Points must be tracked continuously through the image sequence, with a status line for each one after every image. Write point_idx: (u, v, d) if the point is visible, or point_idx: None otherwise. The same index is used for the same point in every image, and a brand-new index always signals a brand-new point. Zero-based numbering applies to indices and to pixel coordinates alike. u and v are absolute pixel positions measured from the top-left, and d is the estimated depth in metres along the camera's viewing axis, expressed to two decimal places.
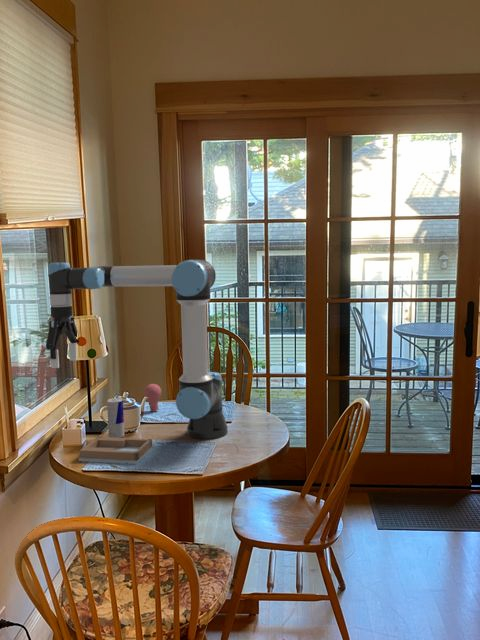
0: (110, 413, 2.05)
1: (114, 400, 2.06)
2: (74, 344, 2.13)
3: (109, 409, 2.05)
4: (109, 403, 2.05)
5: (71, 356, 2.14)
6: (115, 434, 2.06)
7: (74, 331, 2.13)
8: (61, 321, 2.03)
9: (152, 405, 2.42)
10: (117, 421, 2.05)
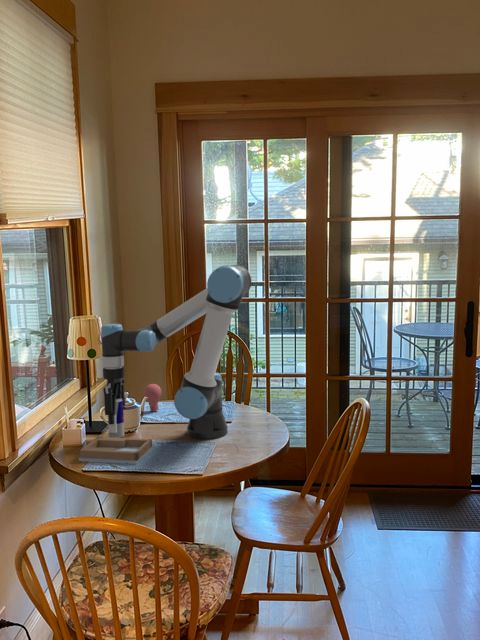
0: None
1: None
2: None
3: None
4: None
5: None
6: (115, 434, 2.06)
7: (122, 395, 2.12)
8: (113, 382, 2.03)
9: (152, 405, 2.42)
10: (117, 421, 2.05)
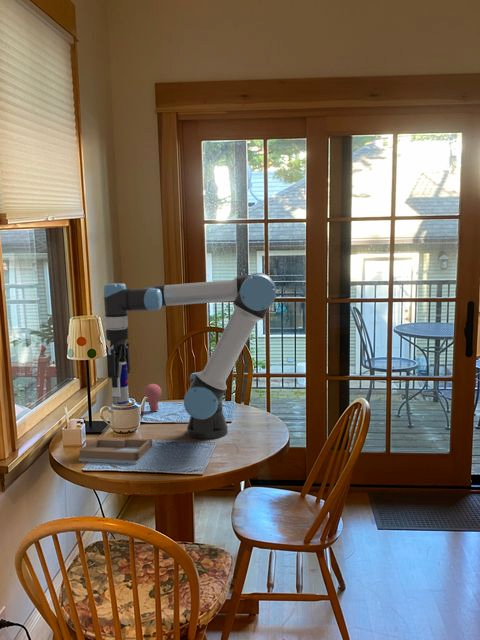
0: None
1: None
2: None
3: None
4: None
5: None
6: (119, 398, 1.98)
7: (127, 359, 2.04)
8: (117, 344, 1.95)
9: (152, 405, 2.42)
10: (121, 384, 1.97)
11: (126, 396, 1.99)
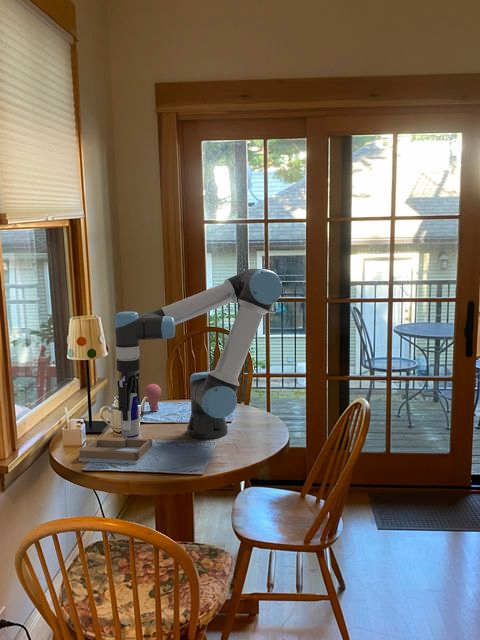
0: None
1: None
2: None
3: None
4: None
5: None
6: (129, 431, 1.89)
7: (136, 389, 1.95)
8: (128, 375, 1.87)
9: (152, 405, 2.42)
10: (131, 417, 1.89)
11: (136, 429, 1.90)
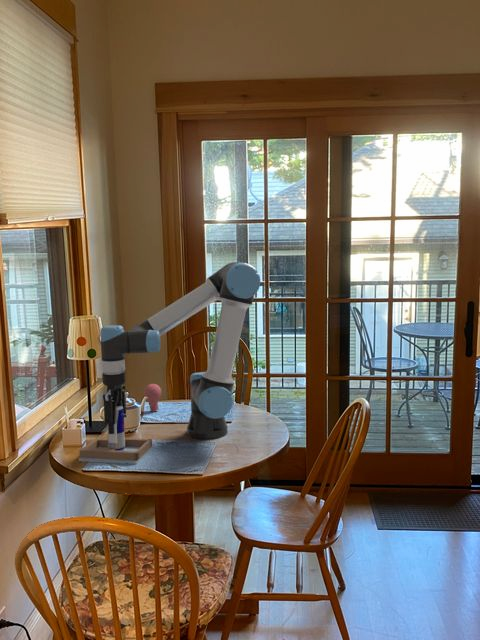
0: None
1: None
2: None
3: None
4: None
5: None
6: (115, 444, 1.91)
7: (123, 402, 1.97)
8: (114, 389, 1.88)
9: (152, 405, 2.42)
10: (117, 430, 1.90)
11: (123, 442, 1.92)
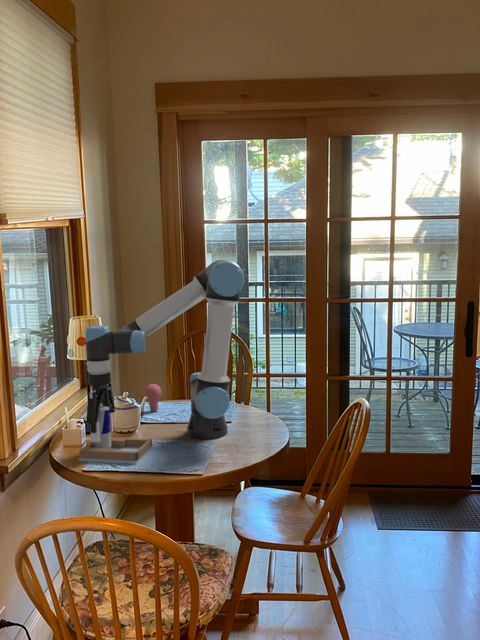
0: None
1: (100, 408, 1.92)
2: (110, 414, 1.98)
3: None
4: None
5: None
6: (101, 445, 1.92)
7: (110, 399, 1.99)
8: (99, 389, 1.89)
9: (152, 405, 2.42)
10: (103, 431, 1.91)
11: (109, 442, 1.93)
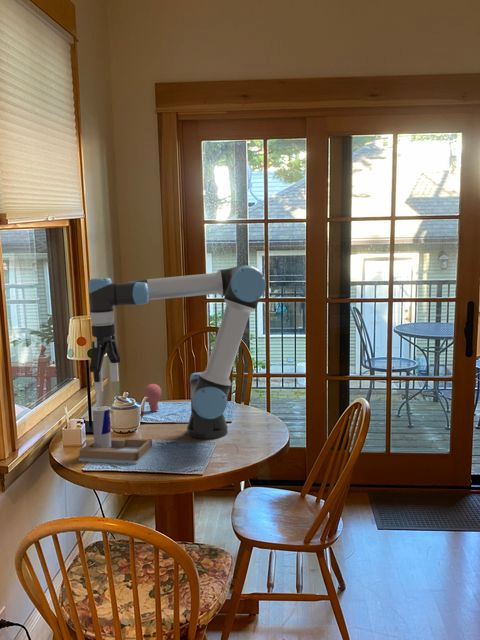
0: (95, 423, 1.91)
1: (100, 409, 1.92)
2: (115, 364, 2.00)
3: (95, 419, 1.91)
4: (94, 412, 1.91)
5: (112, 377, 2.00)
6: (101, 445, 1.92)
7: (115, 350, 2.00)
8: (104, 341, 1.90)
9: (152, 405, 2.42)
10: (103, 431, 1.91)
11: (109, 443, 1.93)
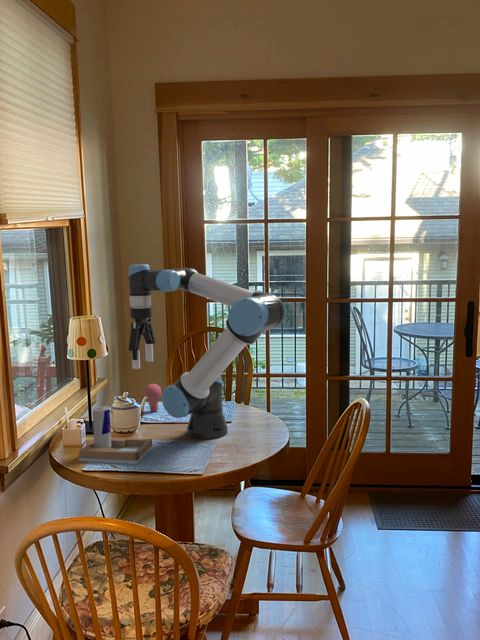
0: (95, 423, 1.91)
1: (100, 409, 1.92)
2: (150, 345, 2.15)
3: (95, 419, 1.91)
4: (94, 412, 1.91)
5: (147, 357, 2.16)
6: (101, 445, 1.92)
7: (150, 332, 2.15)
8: (141, 322, 2.05)
9: (152, 405, 2.42)
10: (103, 431, 1.91)
11: (109, 443, 1.93)
